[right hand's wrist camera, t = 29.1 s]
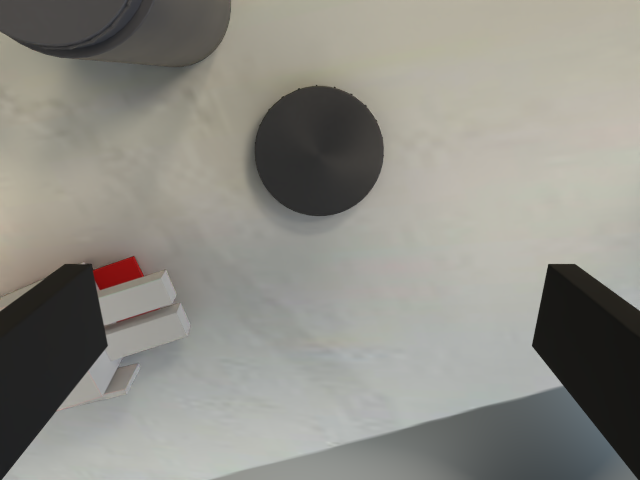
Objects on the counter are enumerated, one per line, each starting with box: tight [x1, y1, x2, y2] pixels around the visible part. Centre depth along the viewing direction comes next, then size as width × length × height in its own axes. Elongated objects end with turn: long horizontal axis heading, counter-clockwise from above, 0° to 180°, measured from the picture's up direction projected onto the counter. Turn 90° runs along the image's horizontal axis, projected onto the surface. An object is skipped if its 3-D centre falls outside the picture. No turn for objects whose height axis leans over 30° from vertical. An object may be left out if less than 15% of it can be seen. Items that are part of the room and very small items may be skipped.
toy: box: [0, 256, 191, 411], centre depth 41 cm, size 12×13×30 cm
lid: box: [255, 85, 384, 216], centre depth 39 cm, size 12×12×2 cm
